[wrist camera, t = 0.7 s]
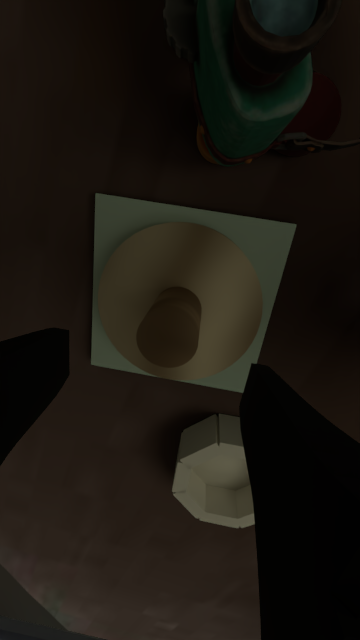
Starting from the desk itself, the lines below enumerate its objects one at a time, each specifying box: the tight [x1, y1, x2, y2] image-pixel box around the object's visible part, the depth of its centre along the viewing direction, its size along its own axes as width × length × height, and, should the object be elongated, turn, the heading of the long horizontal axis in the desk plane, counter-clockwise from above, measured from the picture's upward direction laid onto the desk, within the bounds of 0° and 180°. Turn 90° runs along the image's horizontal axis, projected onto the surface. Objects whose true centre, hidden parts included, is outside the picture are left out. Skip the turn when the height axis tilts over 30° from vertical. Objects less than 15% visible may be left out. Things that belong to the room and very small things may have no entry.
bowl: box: [172, 414, 255, 528], centre depth 22 cm, size 8×8×3 cm
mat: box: [91, 193, 297, 393], centre depth 19 cm, size 12×12×1 cm
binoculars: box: [163, 0, 360, 167], centre depth 9 cm, size 9×11×10 cm
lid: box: [98, 222, 263, 380], centre depth 16 cm, size 10×10×6 cm
